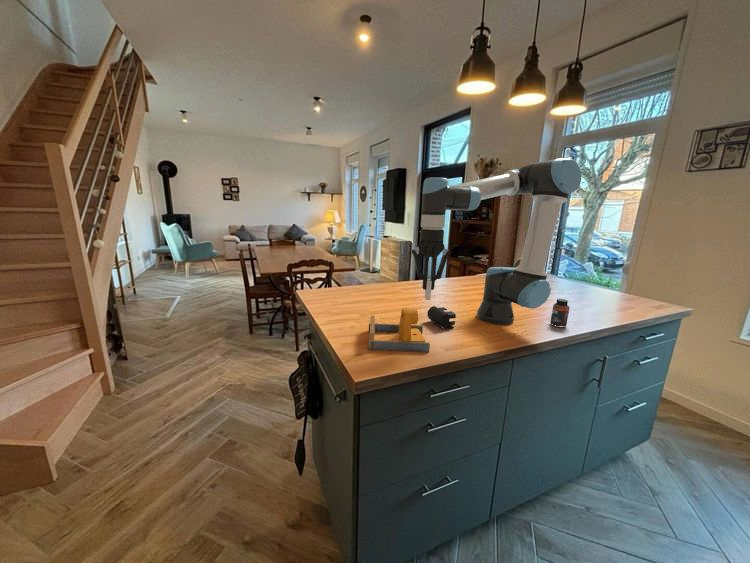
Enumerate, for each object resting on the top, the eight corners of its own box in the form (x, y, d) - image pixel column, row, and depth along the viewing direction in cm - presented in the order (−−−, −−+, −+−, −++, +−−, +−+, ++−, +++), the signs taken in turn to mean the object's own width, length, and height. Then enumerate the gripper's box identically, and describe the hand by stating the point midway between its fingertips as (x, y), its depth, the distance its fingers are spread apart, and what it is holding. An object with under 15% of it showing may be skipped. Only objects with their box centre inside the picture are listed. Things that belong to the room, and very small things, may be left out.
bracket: (425, 348, 101) (428, 314, 98) (404, 348, 100) (406, 314, 97) (417, 335, 111) (420, 304, 109) (398, 335, 111) (400, 304, 108)
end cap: (426, 321, 126) (427, 306, 124) (440, 320, 128) (442, 305, 127) (440, 330, 117) (441, 314, 115) (455, 328, 119) (456, 312, 118)
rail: (421, 332, 114) (422, 317, 112) (429, 352, 98) (430, 335, 97) (368, 330, 113) (369, 315, 112) (367, 349, 98) (368, 332, 96)
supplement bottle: (566, 325, 129) (571, 299, 126) (565, 329, 124) (571, 303, 121) (550, 321, 132) (555, 297, 129) (549, 325, 127) (553, 300, 124)
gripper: (450, 228, 100) (444, 296, 106) (410, 227, 101) (407, 295, 106) (455, 229, 93) (449, 302, 99) (413, 228, 93) (409, 301, 99)
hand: (427, 298), depth 102 cm, fingers closed
